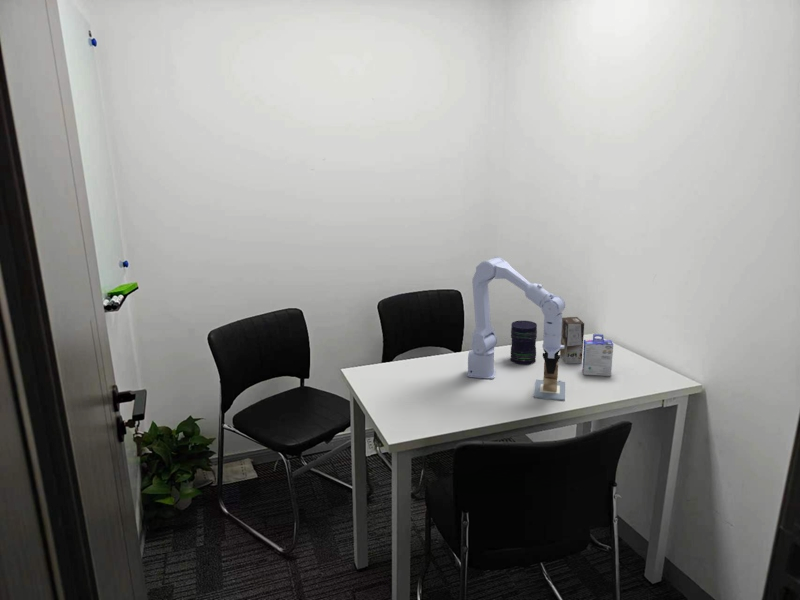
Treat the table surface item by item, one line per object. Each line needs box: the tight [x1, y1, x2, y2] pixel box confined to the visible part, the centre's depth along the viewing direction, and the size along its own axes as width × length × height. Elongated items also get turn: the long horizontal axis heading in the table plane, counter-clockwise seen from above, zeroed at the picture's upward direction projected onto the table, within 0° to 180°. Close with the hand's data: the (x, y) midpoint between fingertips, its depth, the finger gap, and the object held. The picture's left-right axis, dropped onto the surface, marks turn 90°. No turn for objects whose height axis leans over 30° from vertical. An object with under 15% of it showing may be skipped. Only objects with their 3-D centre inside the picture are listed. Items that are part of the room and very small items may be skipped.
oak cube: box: [542, 376, 558, 392], centre depth 183 cm, size 4×4×4 cm
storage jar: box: [510, 320, 538, 366], centre depth 209 cm, size 10×10×15 cm
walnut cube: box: [543, 361, 559, 379], centre depth 182 cm, size 4×4×4 cm
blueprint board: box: [533, 379, 566, 402], centre depth 184 cm, size 10×14×1 cm
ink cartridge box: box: [581, 333, 614, 377], centre depth 195 cm, size 10×6×14 cm, turn 78°
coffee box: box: [559, 316, 585, 364], centre depth 209 cm, size 9×6×16 cm
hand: (550, 370), depth 182 cm, fingers closed on walnut cube, 4 cm apart
